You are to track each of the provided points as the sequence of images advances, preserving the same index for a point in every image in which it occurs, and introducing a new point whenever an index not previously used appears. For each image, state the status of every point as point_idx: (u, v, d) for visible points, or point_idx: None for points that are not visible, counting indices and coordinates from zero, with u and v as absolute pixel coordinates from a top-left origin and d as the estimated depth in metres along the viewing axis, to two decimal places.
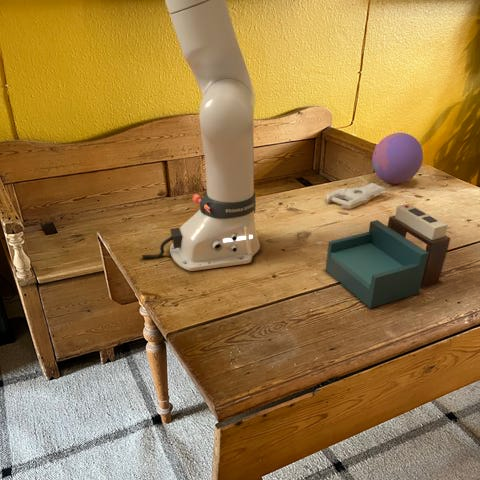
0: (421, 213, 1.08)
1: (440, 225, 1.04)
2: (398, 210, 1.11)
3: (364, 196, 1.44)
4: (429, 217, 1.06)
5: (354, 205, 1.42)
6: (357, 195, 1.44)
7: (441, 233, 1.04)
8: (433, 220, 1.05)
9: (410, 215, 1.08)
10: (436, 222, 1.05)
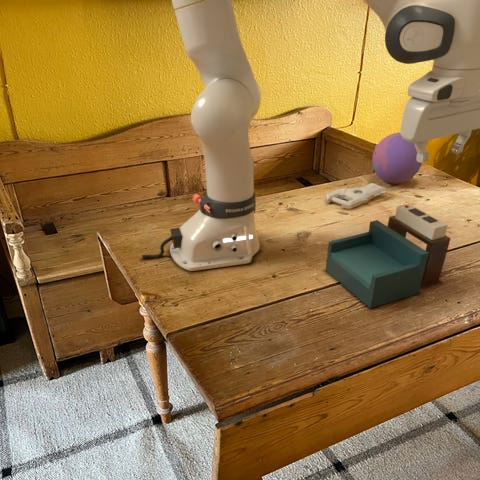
0: (421, 213, 1.08)
1: (440, 225, 1.04)
2: (398, 210, 1.11)
3: (364, 196, 1.44)
4: (429, 217, 1.06)
5: (354, 205, 1.42)
6: (357, 195, 1.44)
7: (441, 233, 1.04)
8: (433, 220, 1.05)
9: (410, 215, 1.08)
10: (436, 222, 1.05)
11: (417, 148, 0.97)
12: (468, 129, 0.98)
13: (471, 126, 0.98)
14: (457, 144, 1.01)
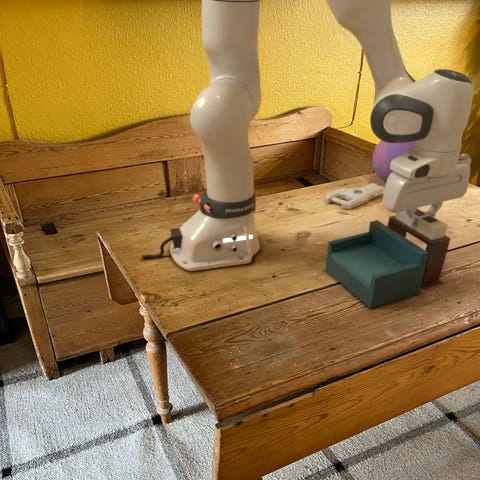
0: (421, 213, 1.08)
1: (440, 225, 1.04)
2: None
3: (364, 196, 1.44)
4: (429, 217, 1.06)
5: (354, 205, 1.42)
6: (357, 195, 1.44)
7: (441, 233, 1.04)
8: (433, 220, 1.05)
9: None
10: (436, 222, 1.05)
11: (407, 213, 1.06)
12: (447, 199, 1.06)
13: (450, 197, 1.06)
14: (429, 213, 1.08)
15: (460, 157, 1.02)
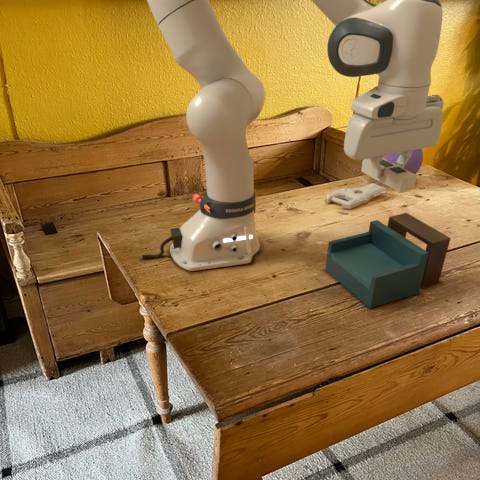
0: (389, 164, 0.96)
1: (408, 175, 0.92)
2: (364, 162, 1.00)
3: (364, 196, 1.44)
4: (397, 168, 0.95)
5: (354, 205, 1.42)
6: (357, 195, 1.44)
7: (410, 185, 0.93)
8: (401, 170, 0.94)
9: None
10: (405, 172, 0.93)
11: (372, 163, 0.95)
12: (417, 147, 0.95)
13: (420, 144, 0.94)
14: (398, 164, 0.97)
15: (431, 98, 0.91)
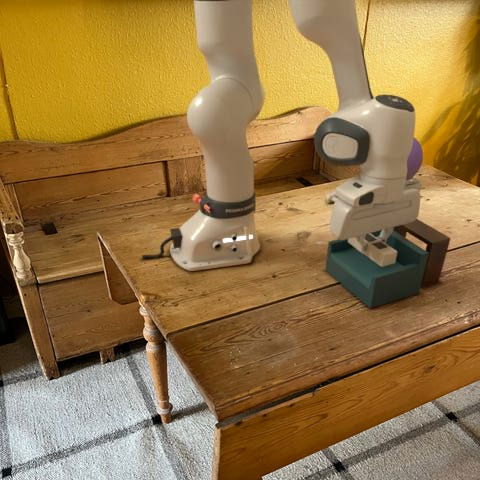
0: (372, 238, 1.05)
1: (389, 252, 1.01)
2: None
3: None
4: (379, 243, 1.04)
5: None
6: None
7: (391, 260, 1.02)
8: (383, 246, 1.03)
9: None
10: (386, 248, 1.02)
11: (356, 239, 1.04)
12: (397, 224, 1.03)
13: (400, 222, 1.03)
14: (380, 238, 1.06)
15: (409, 182, 1.00)
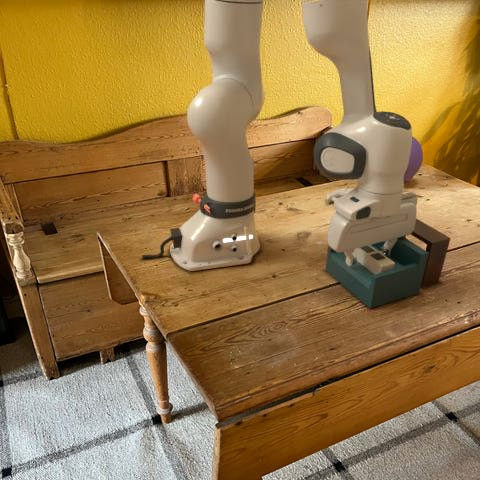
0: (370, 249, 1.07)
1: (387, 263, 1.03)
2: None
3: None
4: (377, 254, 1.05)
5: None
6: None
7: None
8: (381, 257, 1.04)
9: (359, 251, 1.07)
10: (384, 260, 1.04)
11: (345, 253, 1.05)
12: (394, 237, 1.05)
13: (396, 235, 1.05)
14: (384, 248, 1.08)
15: (405, 196, 1.02)
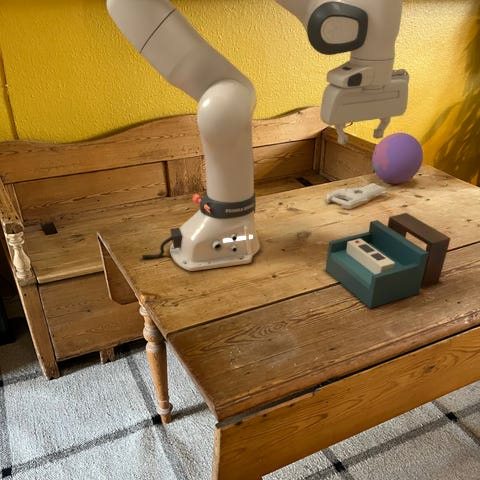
0: (370, 249, 1.07)
1: (387, 263, 1.03)
2: (349, 245, 1.10)
3: (364, 196, 1.44)
4: (377, 254, 1.05)
5: (354, 205, 1.42)
6: (357, 195, 1.44)
7: None
8: (381, 257, 1.04)
9: (359, 251, 1.07)
10: (384, 260, 1.04)
11: (337, 131, 1.07)
12: (386, 116, 1.08)
13: (388, 113, 1.07)
14: (378, 130, 1.11)
15: (397, 72, 1.04)
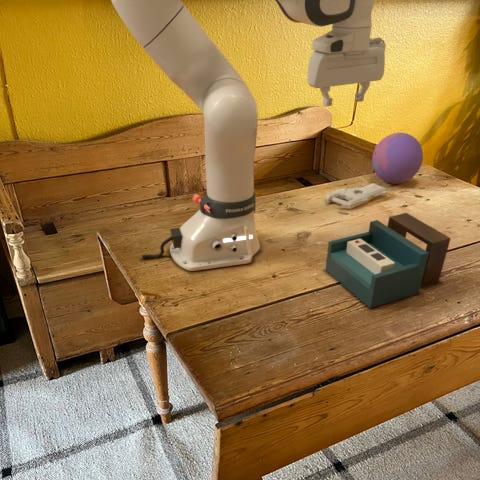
0: (370, 249, 1.07)
1: (387, 263, 1.03)
2: (349, 245, 1.10)
3: (364, 196, 1.44)
4: (377, 254, 1.05)
5: (354, 205, 1.42)
6: (357, 195, 1.44)
7: None
8: (381, 257, 1.04)
9: (359, 251, 1.07)
10: (384, 260, 1.04)
11: (322, 94, 1.20)
12: (365, 80, 1.21)
13: (368, 78, 1.21)
14: (359, 93, 1.24)
15: (374, 40, 1.18)
